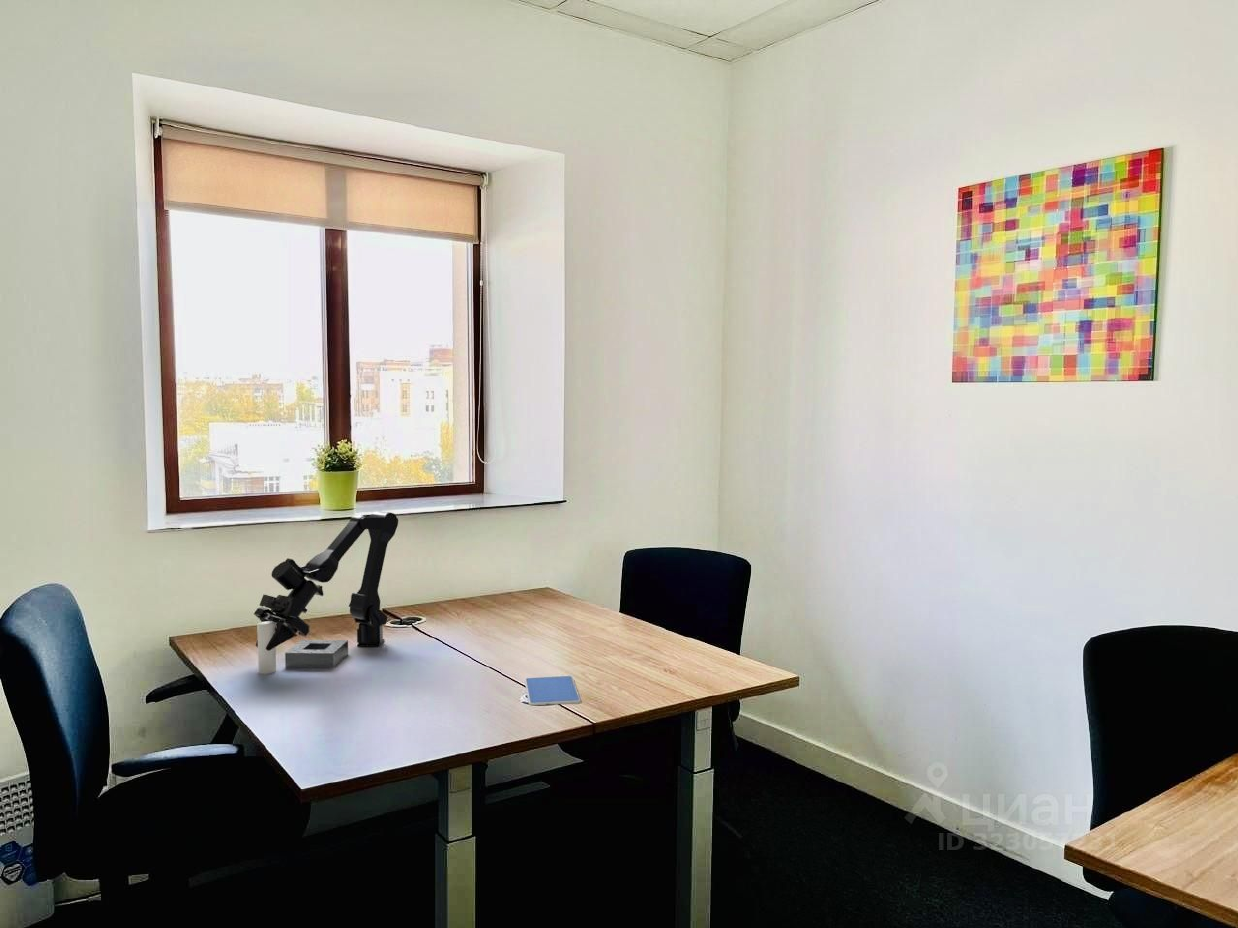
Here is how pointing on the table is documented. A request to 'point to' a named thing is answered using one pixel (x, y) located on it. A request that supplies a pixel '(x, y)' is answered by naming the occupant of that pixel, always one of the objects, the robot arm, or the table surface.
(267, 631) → the peg
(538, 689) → the tablet computer
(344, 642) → the collar
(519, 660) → the table surface
